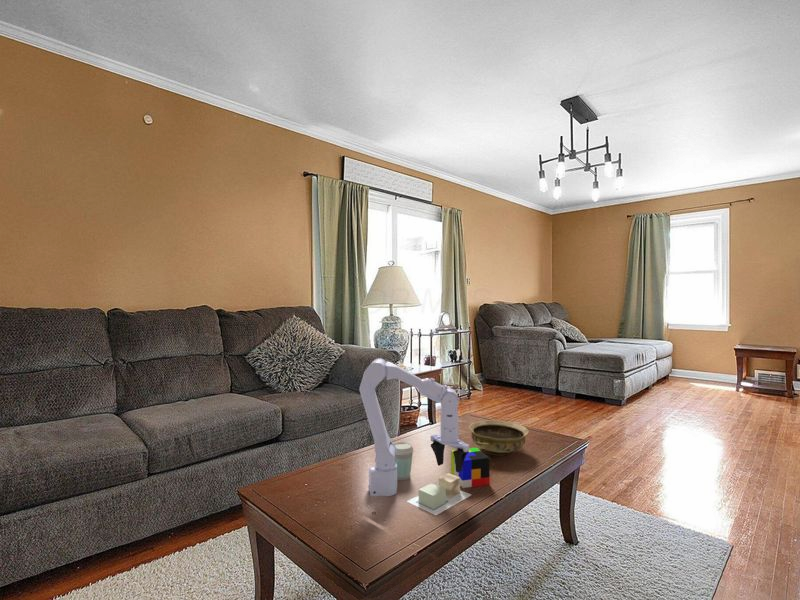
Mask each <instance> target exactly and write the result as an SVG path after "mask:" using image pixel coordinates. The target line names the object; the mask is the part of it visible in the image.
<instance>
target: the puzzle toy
mask: <svg viewBox="0 0 800 600" xmlns="http://www.w3.org/2000/svg"><path fill="white" fill-rule="evenodd" d="M455 450H456V449H452V450H450V474H452V475H455V476H457V477H460V488H462V489H465V488H472V487H473V488H474V487H480V486H487V485H490V481H491V480H490V478H491V477H490V471H491V470H490V465H491V463H490V460H491V459H490V456H488V455H487V454H486V453H484V452H483V451H481V450H480V448H478V447H469V452H468V454H467V455H466V457H465V460H464V462H463V466H462V471H460V472H456V465H455V457H454V454H453V451H455Z"/></svg>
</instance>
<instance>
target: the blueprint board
mask: <svg viewBox="0 0 800 600" xmlns="http://www.w3.org/2000/svg"><path fill="white" fill-rule="evenodd" d="M437 486H439V484H437ZM471 496H472V494H471V493H468V492H465V491H464V490H461V489H460V493H459V494H457V495H455V496H453V497H452V498H450V497H447V496H446V502H445V503H443V504H441V505H439V506H438V507H436V508H434V509H432V508H430V507H428V506H426V505H424V504H422V503H419V494H418V495H417V496H415V497H413V498H410V499H408V500H406V503H408V504H411V505H413V506H414V507H417V508H419V509H422V510H424V511H426V512H428V513H430V514H432V515H433V516H437V515H440V514H441V513H442V512H445V511H447V510H448V509H449V508H452V507H454V506H455V505H457V504H459V503H461V502H462V501H464V500H466V499H467V498H469V497H471Z"/></svg>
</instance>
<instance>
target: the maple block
mask: <svg viewBox="0 0 800 600" xmlns="http://www.w3.org/2000/svg"><path fill="white" fill-rule="evenodd" d="M438 485H439V487H441V488H444V489H446V496H447V497H450V498H452V497H453V496H455V495H457V494H459V493H460V490H461V486H460V477H457V476H455V475H452V474H451V473H449V472H448V473H445V474H443V475H441V476H439V477H438Z"/></svg>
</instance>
